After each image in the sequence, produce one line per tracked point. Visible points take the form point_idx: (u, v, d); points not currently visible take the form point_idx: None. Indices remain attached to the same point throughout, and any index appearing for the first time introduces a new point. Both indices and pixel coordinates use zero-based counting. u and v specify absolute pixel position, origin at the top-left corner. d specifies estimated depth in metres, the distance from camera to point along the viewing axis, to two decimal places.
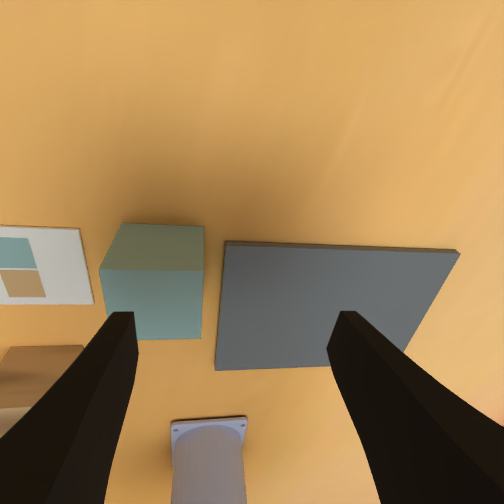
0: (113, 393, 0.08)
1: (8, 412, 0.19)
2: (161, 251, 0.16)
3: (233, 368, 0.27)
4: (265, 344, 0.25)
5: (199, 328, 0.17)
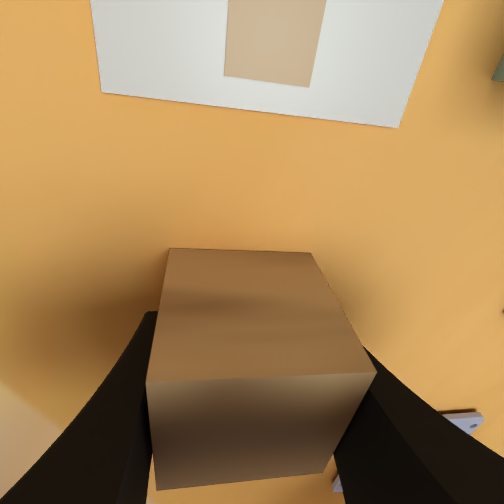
0: None
1: (245, 392, 0.06)
2: None
3: None
4: None
5: None
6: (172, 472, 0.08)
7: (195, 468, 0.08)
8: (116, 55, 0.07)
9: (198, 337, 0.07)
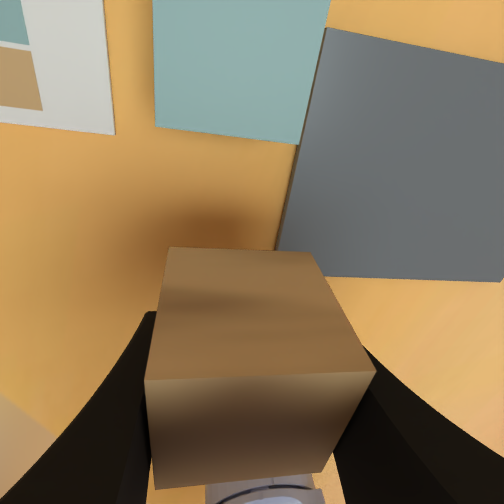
0: None
1: (244, 390, 0.06)
2: None
3: None
4: (346, 233, 0.18)
5: (301, 118, 0.10)
6: (171, 471, 0.08)
7: (193, 468, 0.08)
8: None
9: (197, 336, 0.07)
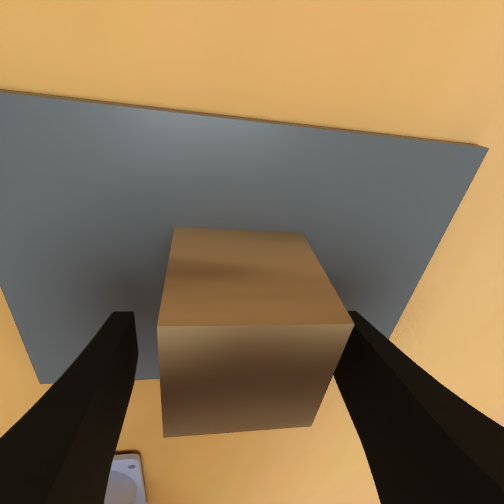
0: (113, 393, 0.08)
1: (240, 339, 0.08)
2: None
3: None
4: None
5: None
6: (177, 418, 0.09)
7: (197, 416, 0.09)
8: None
9: (201, 295, 0.08)
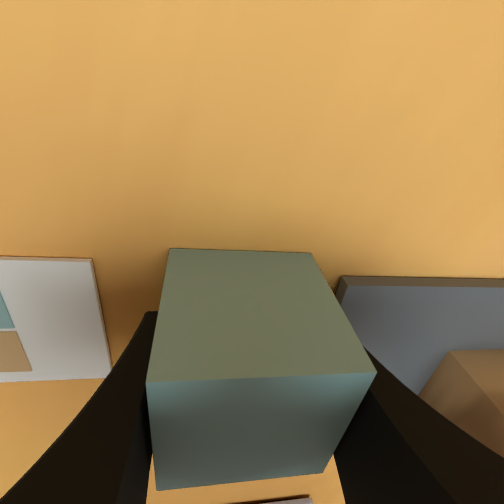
0: None
1: None
2: (264, 317, 0.08)
3: None
4: None
5: (326, 460, 0.09)
6: None
7: None
8: None
9: None
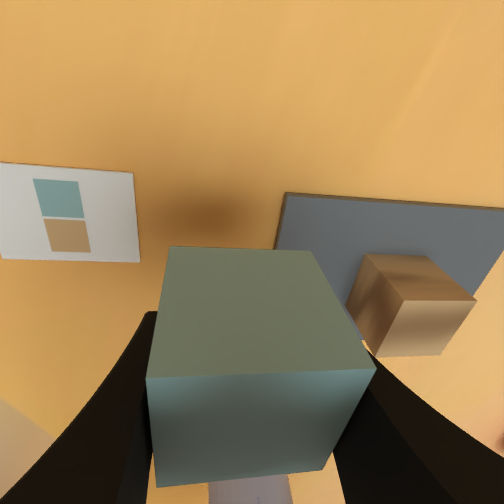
0: None
1: (430, 307, 0.18)
2: (264, 314, 0.08)
3: None
4: None
5: (326, 457, 0.09)
6: (386, 346, 0.19)
7: (395, 345, 0.19)
8: (6, 248, 0.18)
9: (408, 288, 0.18)
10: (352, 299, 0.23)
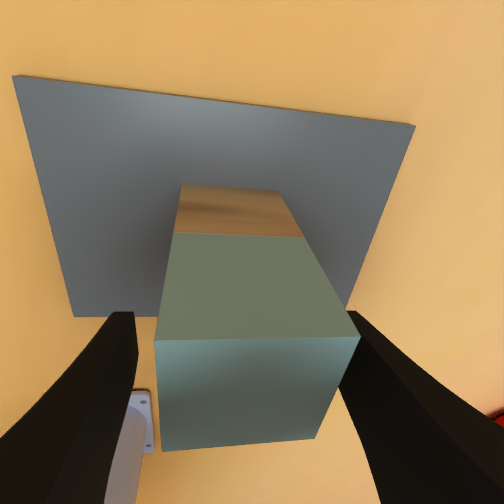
0: (114, 393, 0.08)
1: None
2: (260, 291, 0.09)
3: (101, 314, 0.19)
4: (139, 275, 0.17)
5: (317, 425, 0.10)
6: None
7: None
8: None
9: (202, 219, 0.12)
10: None
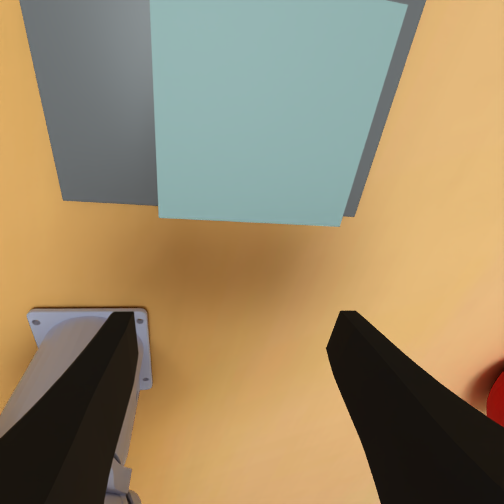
0: (113, 393, 0.08)
1: None
2: None
3: (93, 199, 0.17)
4: (134, 146, 0.16)
5: (344, 197, 0.08)
6: None
7: None
8: None
9: None
10: None
